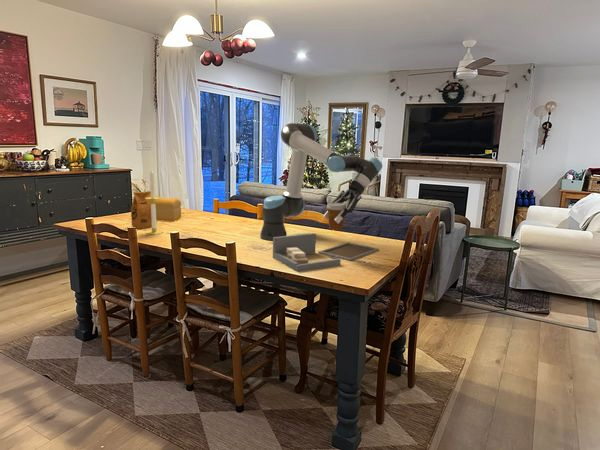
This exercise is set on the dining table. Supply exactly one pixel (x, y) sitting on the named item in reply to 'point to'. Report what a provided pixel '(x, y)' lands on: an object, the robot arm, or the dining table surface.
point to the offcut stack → (296, 255)
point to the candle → (152, 204)
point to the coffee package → (141, 210)
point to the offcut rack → (304, 244)
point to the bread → (168, 209)
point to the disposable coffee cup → (335, 215)
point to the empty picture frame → (348, 251)
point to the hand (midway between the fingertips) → (330, 219)
